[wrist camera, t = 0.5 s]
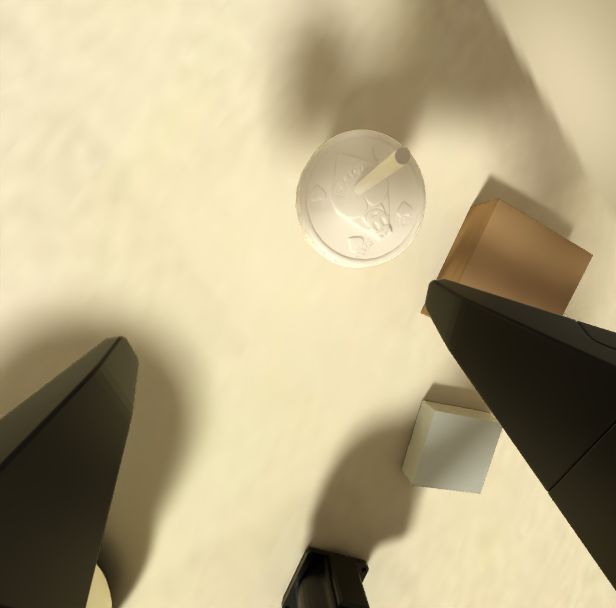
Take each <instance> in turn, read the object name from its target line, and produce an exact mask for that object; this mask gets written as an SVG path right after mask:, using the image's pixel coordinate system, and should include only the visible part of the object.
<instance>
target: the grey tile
mask: <svg viewBox="0 0 616 608" xmlns="http://www.w3.org/2000/svg"><path fill="white" fill-rule="evenodd" d="M501 430H502V426H501V424H500V423H499V422H498V420H497V419H496V418H495V417H493V416H492V415H490V414H489V413H487V412H483V411H478V410H473V409H467V408H462V407H457V406H451V405H446V404H440V403H435V402H430V401H424V400H422V404H421V407H420V410H419V413H418V417H417V420H416V423H415V427H414V430H413V433H412V437H411V440H410V443H409V446H408V450H407V453H406V456H405V460H404V463H403V466H402V471H403V472H404V474H405V475H406V477H407V478H408V480H409V481H410V483H411V484H412V485H414V486H422V487H430V488H438V489H446V490H454V491H462V492H470V493H478V494H480V493H481V490H482V487H483V484H484V481H485V478H486V475H487V472H488V469H489V466H490V463H491V460H492V457H493V454H494V451H495V448H496V445H497V442H498V439H499V436H500V433H501Z"/></svg>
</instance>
